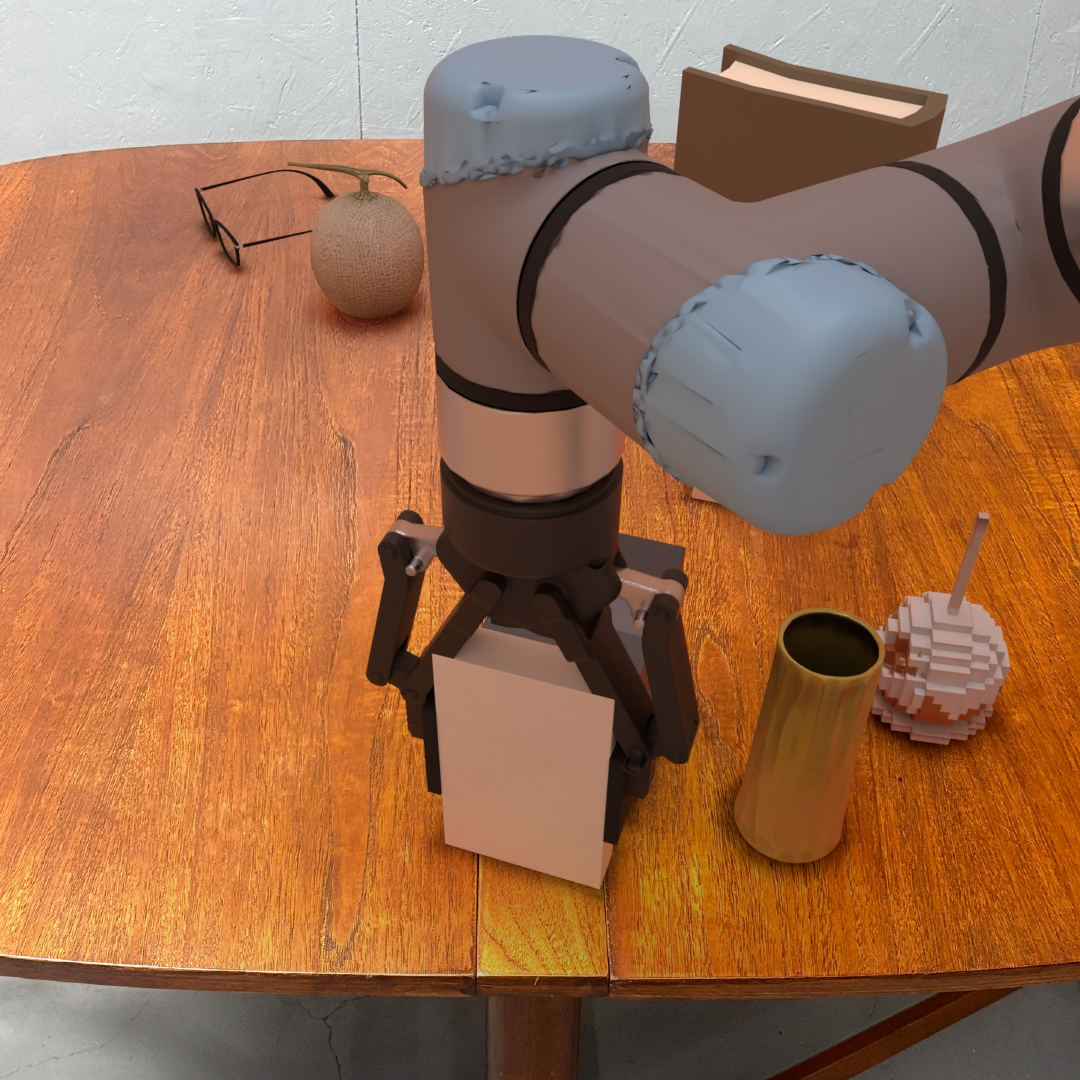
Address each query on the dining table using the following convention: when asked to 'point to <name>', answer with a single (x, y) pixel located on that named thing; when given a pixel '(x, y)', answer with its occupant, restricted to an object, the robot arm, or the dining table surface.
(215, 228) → the eyeglasses
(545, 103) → the robot arm
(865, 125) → the book
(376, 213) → the fruit
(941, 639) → the pale rounded piece
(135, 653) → the dining table surface
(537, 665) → the white book
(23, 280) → the dining table surface
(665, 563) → the grey books
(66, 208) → the dining table surface
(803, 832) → the vase
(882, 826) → the dining table surface
